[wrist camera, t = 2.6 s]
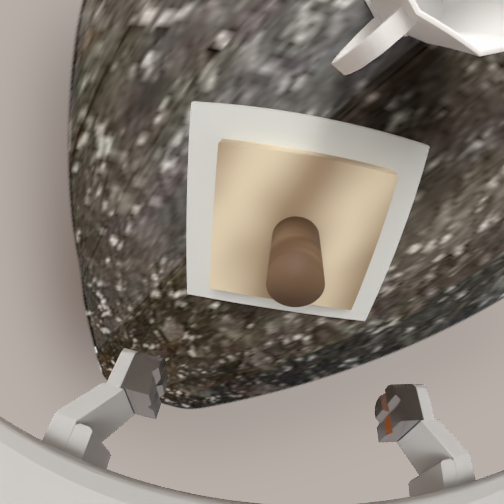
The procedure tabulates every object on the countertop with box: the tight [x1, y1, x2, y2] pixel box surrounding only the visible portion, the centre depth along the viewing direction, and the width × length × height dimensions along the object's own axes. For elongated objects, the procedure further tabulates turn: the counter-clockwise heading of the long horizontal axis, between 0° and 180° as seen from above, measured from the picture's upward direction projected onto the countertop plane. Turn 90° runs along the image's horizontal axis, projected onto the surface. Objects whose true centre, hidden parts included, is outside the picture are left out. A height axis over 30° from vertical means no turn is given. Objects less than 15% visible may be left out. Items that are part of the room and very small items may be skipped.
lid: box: [210, 139, 398, 310], centre depth 17 cm, size 10×10×6 cm
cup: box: [332, 0, 504, 75], centre depth 9 cm, size 7×10×8 cm
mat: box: [187, 101, 430, 321], centre depth 20 cm, size 14×14×1 cm
